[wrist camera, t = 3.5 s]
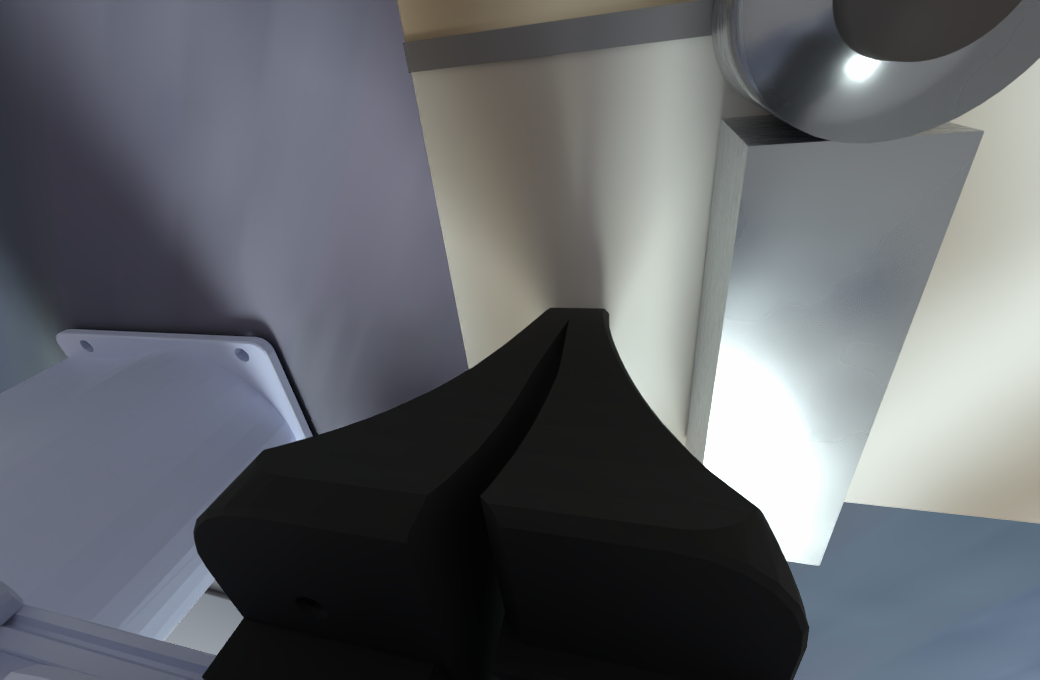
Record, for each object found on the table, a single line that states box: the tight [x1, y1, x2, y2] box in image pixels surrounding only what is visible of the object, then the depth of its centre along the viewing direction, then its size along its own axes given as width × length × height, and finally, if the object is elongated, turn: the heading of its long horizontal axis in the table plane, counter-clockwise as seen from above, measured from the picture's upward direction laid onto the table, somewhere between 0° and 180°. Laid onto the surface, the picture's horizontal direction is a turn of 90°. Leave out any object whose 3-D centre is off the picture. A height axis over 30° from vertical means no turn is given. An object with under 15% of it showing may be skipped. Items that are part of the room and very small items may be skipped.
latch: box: [685, 0, 1040, 566], centre depth 8 cm, size 11×3×3 cm, turn 7°
